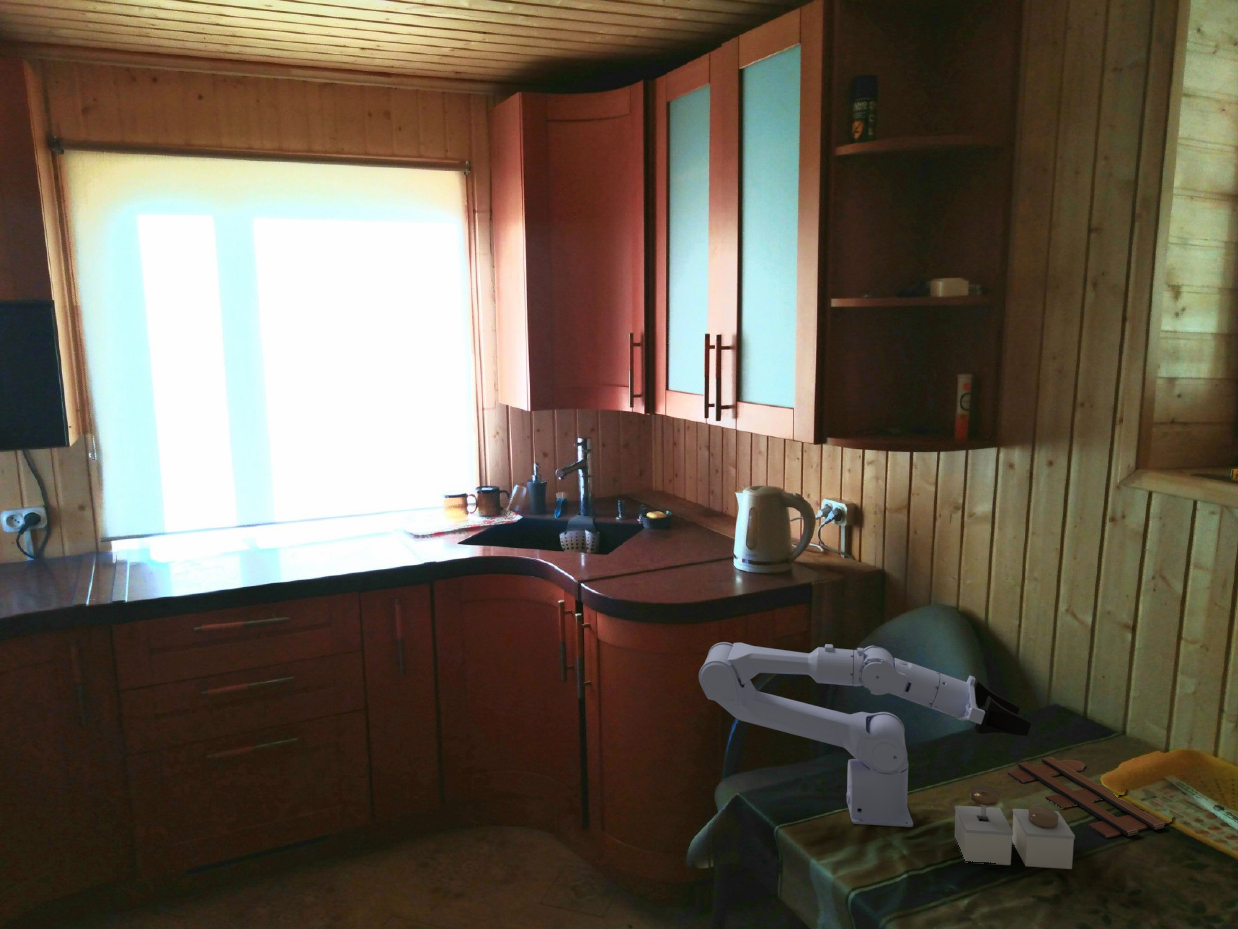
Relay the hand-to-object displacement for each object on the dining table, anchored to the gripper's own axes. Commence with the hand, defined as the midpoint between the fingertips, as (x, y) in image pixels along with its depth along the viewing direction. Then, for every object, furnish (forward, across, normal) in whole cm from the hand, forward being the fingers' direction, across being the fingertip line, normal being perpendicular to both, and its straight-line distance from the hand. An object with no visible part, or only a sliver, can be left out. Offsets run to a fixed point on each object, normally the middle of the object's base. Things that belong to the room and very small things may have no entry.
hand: (1022, 721), depth 132 cm
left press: (-1, -4, +20) cm, 20 cm away
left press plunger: (-2, -5, +16) cm, 17 cm away
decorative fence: (+18, +16, +13) cm, 27 cm away
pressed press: (+7, -4, +18) cm, 19 cm away
